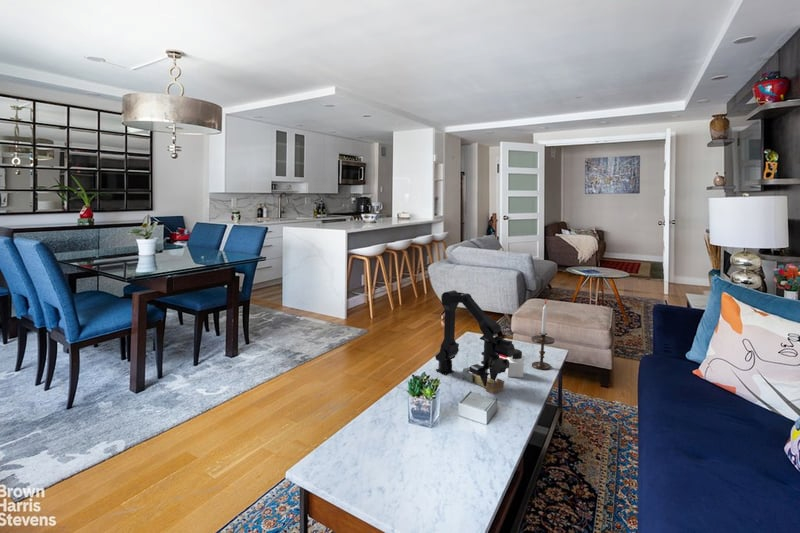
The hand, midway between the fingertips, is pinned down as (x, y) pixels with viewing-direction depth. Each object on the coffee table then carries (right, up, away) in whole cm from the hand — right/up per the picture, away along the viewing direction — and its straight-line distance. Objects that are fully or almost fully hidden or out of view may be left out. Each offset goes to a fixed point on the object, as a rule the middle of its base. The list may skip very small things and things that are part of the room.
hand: (488, 384), depth 193 cm
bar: (-1, -1, +2) cm, 3 cm away
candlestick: (+31, +2, +25) cm, 40 cm away
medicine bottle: (+15, +1, +15) cm, 22 cm away
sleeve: (-6, 0, +9) cm, 10 cm away
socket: (+2, -2, -3) cm, 4 cm away
